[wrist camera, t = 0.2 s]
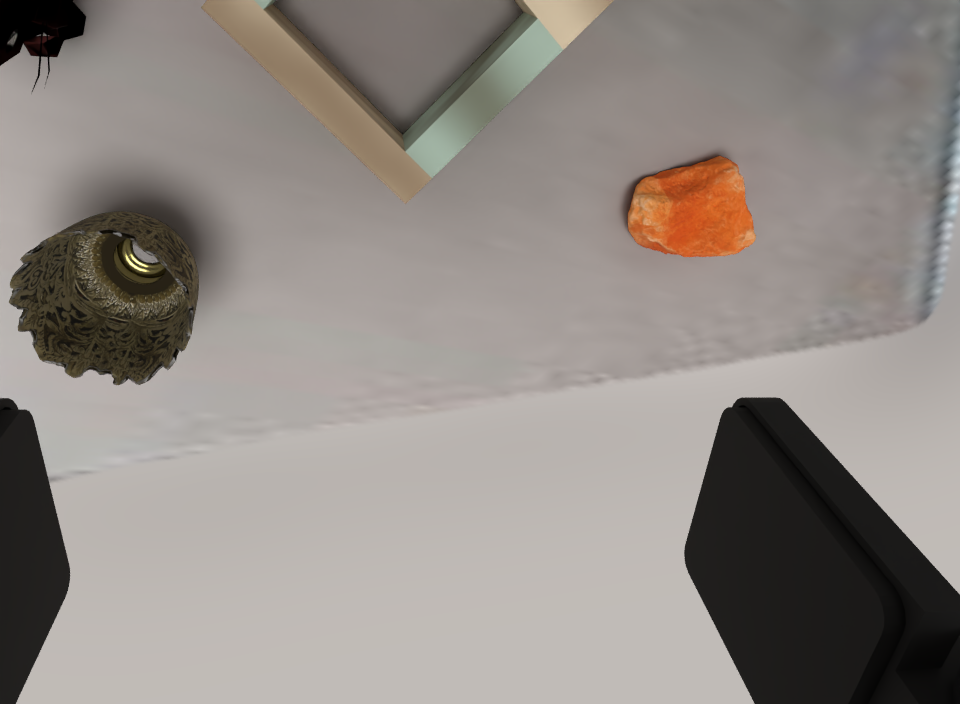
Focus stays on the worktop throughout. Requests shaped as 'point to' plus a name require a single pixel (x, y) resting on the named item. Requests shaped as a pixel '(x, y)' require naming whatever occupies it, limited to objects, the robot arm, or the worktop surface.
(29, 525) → the robot arm
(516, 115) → the worktop surface
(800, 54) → the worktop surface
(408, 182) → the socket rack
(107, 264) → the cup
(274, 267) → the worktop surface
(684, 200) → the rock
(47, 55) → the cat figurine
